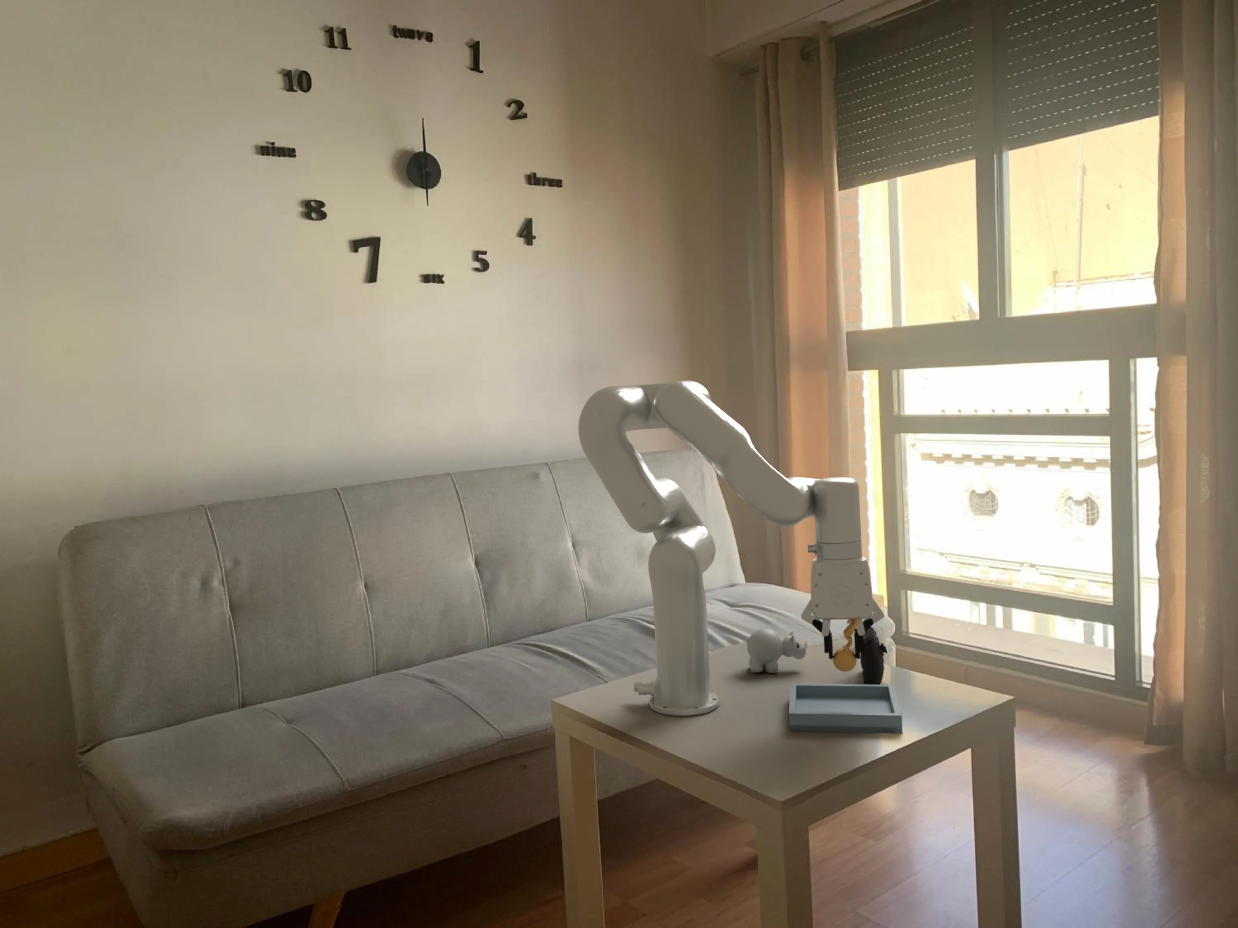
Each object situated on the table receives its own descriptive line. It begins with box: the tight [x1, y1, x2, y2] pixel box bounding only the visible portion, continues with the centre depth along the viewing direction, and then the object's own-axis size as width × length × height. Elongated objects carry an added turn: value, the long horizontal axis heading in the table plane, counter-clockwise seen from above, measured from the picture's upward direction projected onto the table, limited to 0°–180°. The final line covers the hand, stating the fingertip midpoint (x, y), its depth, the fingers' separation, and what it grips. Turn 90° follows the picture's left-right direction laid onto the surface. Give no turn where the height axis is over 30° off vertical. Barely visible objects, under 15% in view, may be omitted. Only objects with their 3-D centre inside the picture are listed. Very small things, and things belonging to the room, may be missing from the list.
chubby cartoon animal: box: [746, 627, 808, 674], centre depth 194 cm, size 7×12×8 cm, turn 84°
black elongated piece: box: [859, 626, 888, 685], centre depth 184 cm, size 14×6×10 cm, turn 168°
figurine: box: [832, 616, 860, 673], centre depth 165 cm, size 8×6×12 cm
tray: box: [788, 683, 903, 734], centre depth 166 cm, size 18×16×3 cm
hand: (844, 655), depth 166 cm, fingers closed on figurine, 3 cm apart
